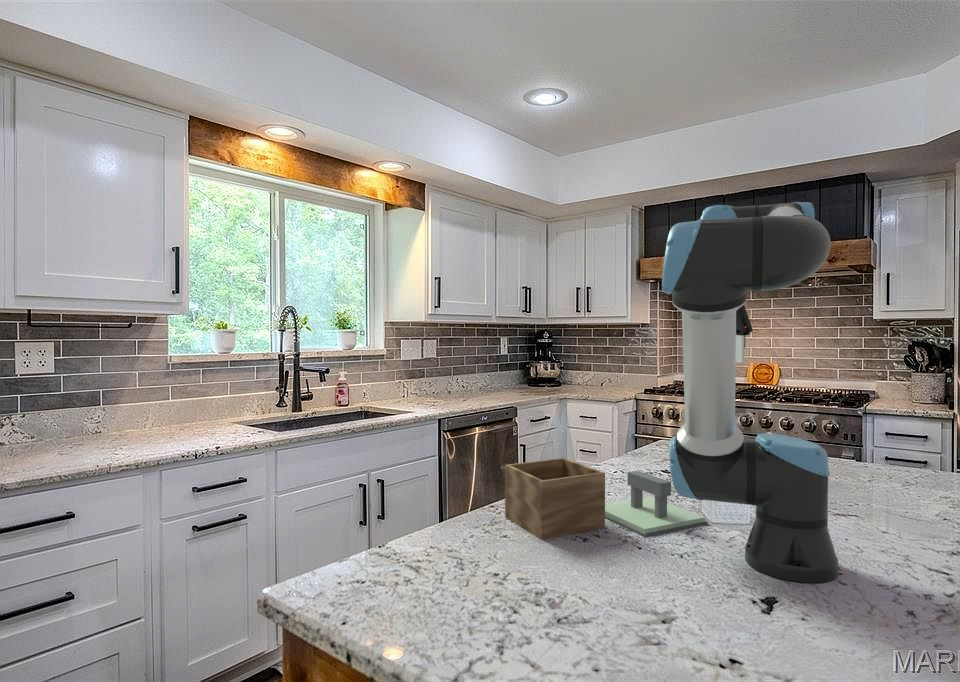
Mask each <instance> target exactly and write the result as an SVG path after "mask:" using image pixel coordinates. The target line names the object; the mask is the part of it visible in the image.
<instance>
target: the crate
mask: <svg viewBox="0 0 960 682" xmlns="http://www.w3.org/2000/svg"><path fill="white" fill-rule="evenodd" d="M605 505H606V472H604V471H601V470H599V469H597V468H596V469H595V468H593V467H590V466H588V465H585V464H581V463H579V462H576V461H575V460H571V459H568V458H565V457H560V458H558V457H557V458H552V459H550V458H549V459H544V460H543V459H542V460H535V461H527V462H519V463H518V462H517V463H510V464H509V463H508V464H504V517H505V518H506V519H508V520H510V521H511V522H513V523H514V524H516V525H517V526H520V527H521V528H523V529H524V530H525V531H527V532H529V533H530V534H532V535H534V536H535V537H537V538H538V539H540V540H548V539H553V538H558V537H563V536H568V535H573V534H579V533H580V534H581V533H584V532H591V531H595V530H600V529H605V528H606V518H605Z"/></svg>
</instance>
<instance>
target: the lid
mask: <svg viewBox="0 0 960 682" xmlns="http://www.w3.org/2000/svg"><path fill="white" fill-rule="evenodd" d="M627 486H629V487H630V500H627V501H620V502H615V503H609V504H608V503H607V504H605V515H606V516H608V517H610V518H612V519H614V520H616V521H618V522H621V523H623V524H625V525H627V526H629V527H631V528H633V529H635V530H638V531H640V532H642V533H644V534H646V533H651V532H656V531H661V530H666V529H671V528H676V527H681V526H686V525H691V524H696V523H701V522H705V521H706V517H705V516H703V515H700V514H697V513H695V512H692V511H690V510H687V509H684V508H682V507H680V506H677V505H674V504H671V503H669V502H668V497H669V496H670V497H671V495H672V481H669V480H667V479H663V478H660V477H658V476H655V475H652V474H648V473H645V472H643V471H639V470H634V471H627ZM643 492H645V493H649V494H651V495H654V497H653V496H650V497H645V498H643Z"/></svg>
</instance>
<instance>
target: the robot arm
mask: <svg viewBox="0 0 960 682" xmlns="http://www.w3.org/2000/svg"><path fill="white" fill-rule="evenodd" d="M667 235H668V236H667V239H666V245H665V251H664V259H663V267H662V279H661V290H662V293H664V294H667V295H671V303H672V305H673V307H675V308H676V309H677V310H678V311H679V312H681V319H682V320H681V322H682V323H681V325H682V327H681V328H682V329H681V332H682V356H683V357H682V358H683V360H682V361H683V363H682V365H683V393H684V394H683V395H684V424H683V425H682V426H680V428H679V429H678V430H677V433H676V435H675V436H672V437H671V439H670V441H669V445H668V446H669V447H668V450H669V451H668V457H669V471H670V477H671V483H672V485H673V488H674V490H675V492H676V493H677V494H678V495H679V496H681V497H683V498H688V499H692V500H694V499H695V500H696V501H700V502H701V501H702V502H703V501H710V502H720V503H722V502H723V503H730V504H737V505H738V504H740V505H748V506H754V507H755V520H754V522H753V525H752V527H751V530H750V533H749V536H748V539H747V541H746V543H745V547H744V560H745V562H746V563H747V564H748V565H749V566H750V567H751V568H753V570H754V569H755V570H757V571H758V572H760V573H763V574H765V575H768V576H771V577H774V578H777V579H778V578H779V579H781V580H785V581H786V580H787V581H791V582H797V583H798V582H800V583H813V584H814V583H825V582H830V581H832V580H834V579H836V578H837V577H838V576H839V564H840V563H839V559H838V557H837V555H836V554H837V553H836V551H835V548H834V544H833V540H832V538H831V535H830V532H829V528H828V527H829V526H828V525H829V521H828V520H829V519H828V518H829V517H828V514H829V504H828V503H829V502H828V501H829V477H830V474H831V473H830V469H829V456H828V452H827V451H826V450H825V448H823V447H822V446H821V445H819V444H816V443H815V442H812V441H810V440H809V441H808V440H806V439H802V438H799V437H795V436H791V435H790V436H789V435H784V434H779V433H778V434H777V433H759V434H757V436H756V438H755V441H751V440H750V441H748V440H745V436H744V433H743V432H742V431H741V429H740V428H739V427H737V426H736V375H737V374H736V373H737V371H736V363H739V364H743V363H745V348H746V336H749V335H751V333H752V332H753V327H752V324H751V321H750V318H749V315H748V312H747V309H746V305H745V304H746V303H747V292H768V291H771V292H772V291H776V290H781V289H784V288H788V287H791V286H793V285H797V284H799V283H801V282H802V281H804V280H806V279H808V278H810V277H811V276H812V275H814V274H815V273H816V272H818V271H819V270H820V268H822V266H823V265H824V264H825V263H826V261H827V259H828V257H829V256H830V252H831V247H832V246H831V245H832V244H831V243H832V242H831V238H830V234H829V232H828V230H827V228H826V227H825V226H824V225H823V224H822V223H821V222H820V221H819V220H817V219H816V218H815V208H814V205H813V203H812V202H809V201H807V202H805V201H802V202H800V201H793V202H788V203H787V202H786V203H785V202H784V203H775V204H774V203H773V204H762V205H759V204H757V205H745V206H743V205H742V206H732V205H728V204H725V205H724V204H717V205H711V206H708V207H706V208H704V209H703V211H702V214H701V216H700V218H699V219H697V220H692V221H683V222H678V223H675V224H674V225H673V226H672V227H670V230H669V233H668V234H667Z"/></svg>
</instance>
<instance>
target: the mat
mask: <svg viewBox="0 0 960 682" xmlns="http://www.w3.org/2000/svg"><path fill="white" fill-rule="evenodd" d="M605 520H607V521H611V522H613V523H615V524H617V525H619V526H621V527H622V528H625V529H627V530H629V531H631V532H634V533H635V534H638V535H640V536H641V537H645V538H646V537H651V536H657V535H660V534H666V533H669V532H675V531H681V530H685V529H691V528H695V527H700V526H706V525H709V521H706V520H705V522H701V523H696V524H691V525H686V526H681V527H676V528H671V529H666V530H661V531H656V532H651V533H646V534H644V533H642V532H640V531H638V530H635V529H633V528H631V527H629V526H627V525H625V524H623V523H621V522H618V521H616V520H614V519H612V518H610V517H608V516H606V515H605Z"/></svg>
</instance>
